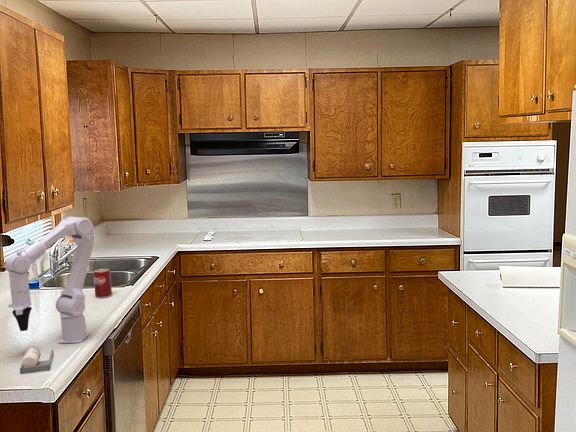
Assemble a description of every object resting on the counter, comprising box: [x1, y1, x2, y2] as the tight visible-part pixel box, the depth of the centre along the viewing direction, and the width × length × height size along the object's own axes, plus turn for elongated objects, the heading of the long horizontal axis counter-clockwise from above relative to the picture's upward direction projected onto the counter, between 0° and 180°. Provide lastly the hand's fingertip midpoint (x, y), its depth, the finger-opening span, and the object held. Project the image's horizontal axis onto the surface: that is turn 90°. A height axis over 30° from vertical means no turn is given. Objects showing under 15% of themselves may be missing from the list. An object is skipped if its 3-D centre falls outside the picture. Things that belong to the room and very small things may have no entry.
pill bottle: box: [22, 347, 42, 367], centre depth 209 cm, size 5×5×8 cm
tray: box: [19, 349, 55, 375], centre depth 211 cm, size 15×9×2 cm, turn 15°
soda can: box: [92, 268, 113, 299], centre depth 295 cm, size 7×7×12 cm
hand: (24, 330), depth 220 cm, fingers closed
